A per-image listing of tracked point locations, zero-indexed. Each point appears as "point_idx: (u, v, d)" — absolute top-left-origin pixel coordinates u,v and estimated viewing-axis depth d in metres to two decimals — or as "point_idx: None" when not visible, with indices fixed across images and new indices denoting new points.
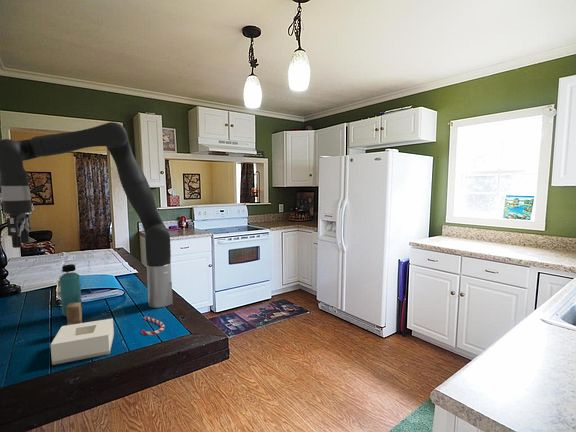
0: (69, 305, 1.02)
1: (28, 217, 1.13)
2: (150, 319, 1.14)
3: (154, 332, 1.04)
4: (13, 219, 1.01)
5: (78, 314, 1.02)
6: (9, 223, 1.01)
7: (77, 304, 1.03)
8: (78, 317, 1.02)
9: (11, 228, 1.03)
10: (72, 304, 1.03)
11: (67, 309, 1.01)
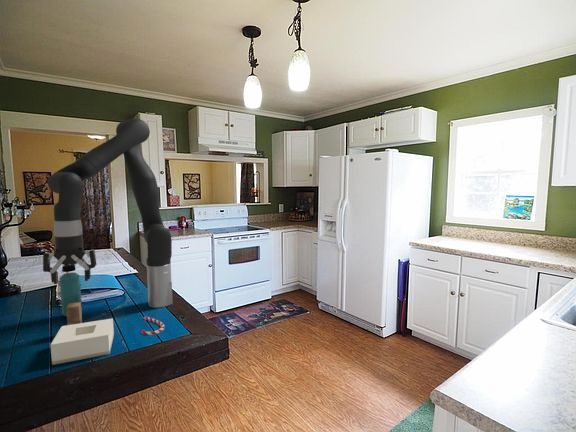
0: (69, 305, 1.02)
1: None
2: (150, 319, 1.14)
3: (154, 332, 1.04)
4: (94, 251, 1.04)
5: (78, 314, 1.02)
6: (94, 255, 1.04)
7: (77, 304, 1.03)
8: (78, 317, 1.02)
9: (83, 262, 1.02)
10: (72, 304, 1.03)
11: (67, 309, 1.01)
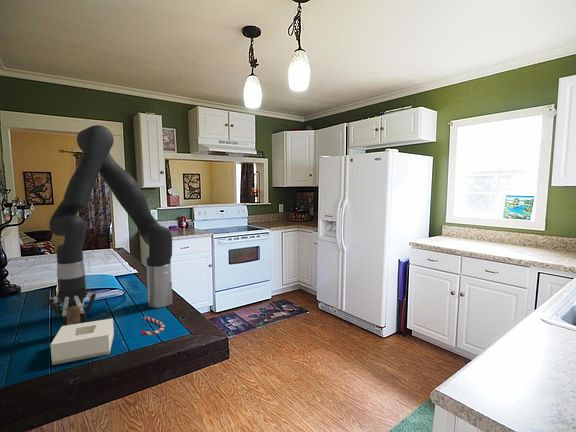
0: None
1: None
2: (150, 319, 1.14)
3: (154, 332, 1.04)
4: None
5: (78, 314, 1.02)
6: None
7: None
8: (78, 317, 1.03)
9: (82, 305, 1.03)
10: None
11: (67, 309, 1.01)
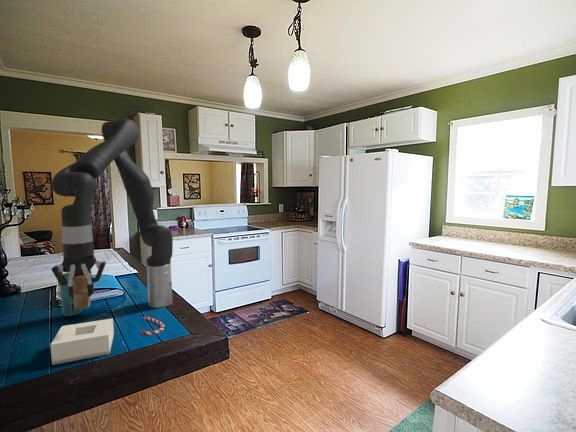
0: (75, 275, 0.91)
1: None
2: (150, 319, 1.14)
3: (154, 332, 1.04)
4: None
5: (85, 285, 0.91)
6: None
7: None
8: (85, 288, 0.91)
9: (89, 275, 0.92)
10: (79, 274, 0.92)
11: (73, 279, 0.90)
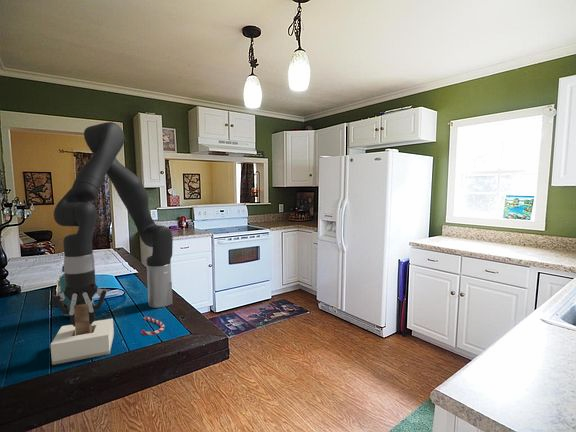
0: (77, 303, 0.92)
1: None
2: (150, 319, 1.14)
3: (154, 332, 1.04)
4: (106, 291, 0.96)
5: (87, 313, 0.92)
6: None
7: None
8: (87, 316, 0.92)
9: (91, 303, 0.93)
10: (81, 302, 0.93)
11: (75, 307, 0.91)
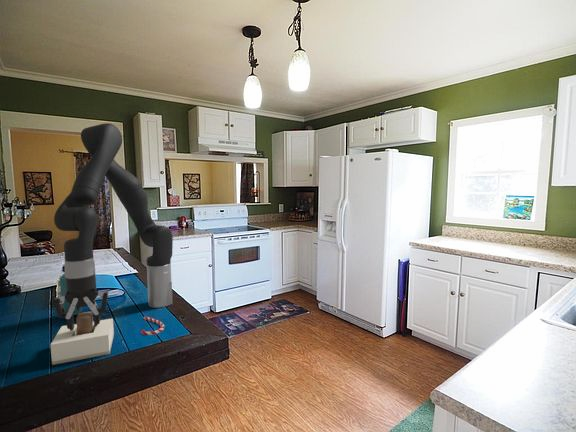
0: (79, 315, 0.93)
1: None
2: (150, 319, 1.14)
3: (154, 332, 1.04)
4: (107, 293, 0.96)
5: (89, 325, 0.93)
6: None
7: (88, 314, 0.94)
8: (89, 328, 0.93)
9: (94, 306, 0.93)
10: (83, 314, 0.93)
11: (77, 319, 0.91)
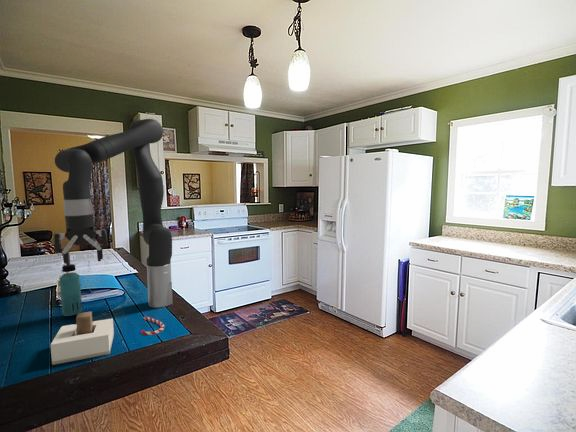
0: (79, 315, 0.93)
1: None
2: (150, 319, 1.14)
3: (154, 332, 1.04)
4: (105, 230, 1.02)
5: (89, 325, 0.93)
6: None
7: (88, 314, 0.94)
8: (89, 328, 0.93)
9: (95, 242, 1.00)
10: (83, 314, 0.93)
11: (77, 319, 0.91)
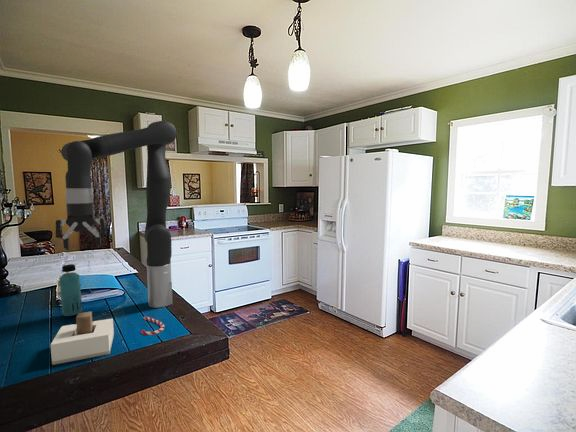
0: (79, 315, 0.93)
1: None
2: (150, 319, 1.14)
3: (154, 332, 1.04)
4: (104, 219, 1.08)
5: (89, 325, 0.93)
6: (104, 223, 1.07)
7: (88, 314, 0.94)
8: (89, 328, 0.93)
9: (94, 229, 1.06)
10: (83, 314, 0.93)
11: (77, 319, 0.91)
